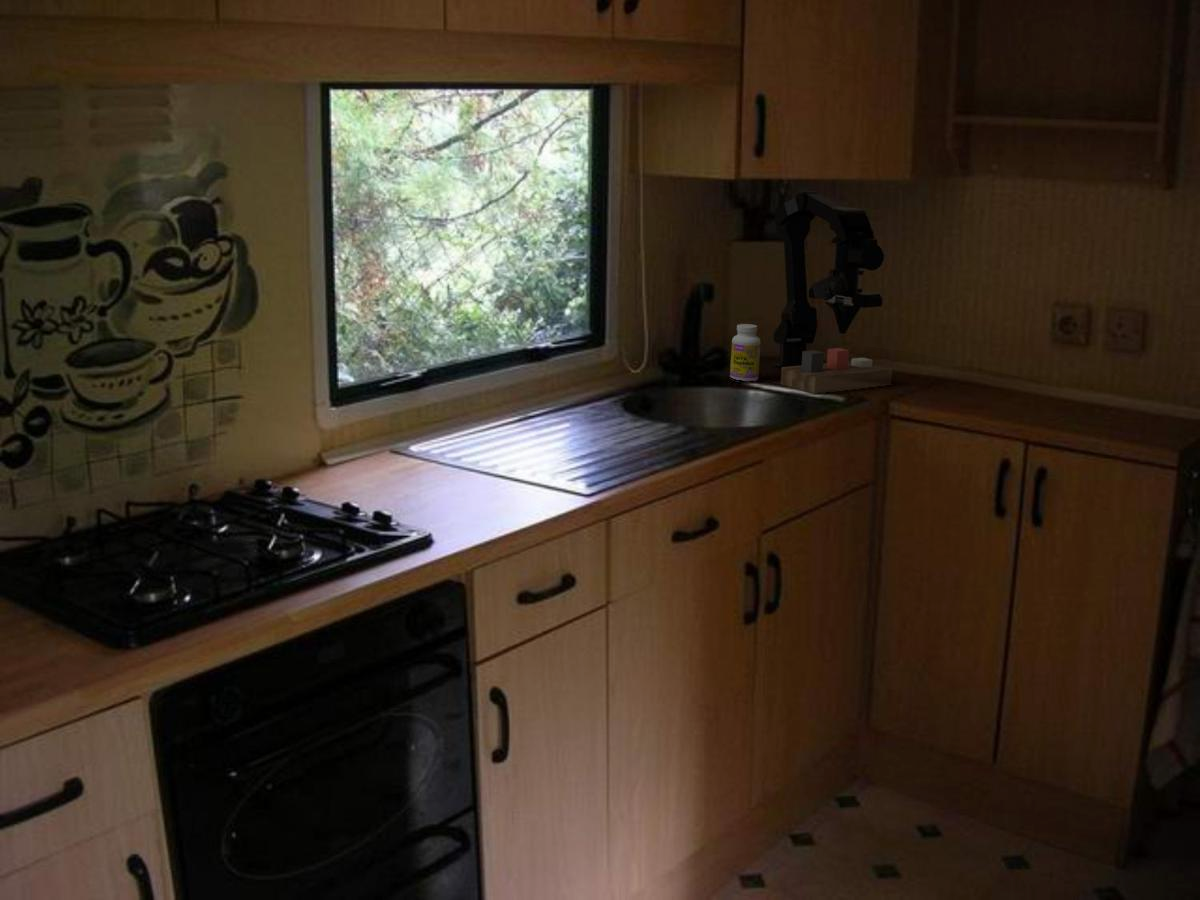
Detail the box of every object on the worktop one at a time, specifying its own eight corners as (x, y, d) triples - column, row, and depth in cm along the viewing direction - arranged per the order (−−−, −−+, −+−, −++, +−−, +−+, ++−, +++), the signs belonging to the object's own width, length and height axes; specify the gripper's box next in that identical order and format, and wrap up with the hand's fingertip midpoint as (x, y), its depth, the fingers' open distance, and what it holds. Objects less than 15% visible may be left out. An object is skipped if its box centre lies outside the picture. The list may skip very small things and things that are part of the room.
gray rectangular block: (801, 372, 312) (802, 351, 311) (812, 371, 314) (814, 350, 313) (810, 375, 309) (812, 353, 308) (822, 374, 311) (823, 352, 310)
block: (780, 384, 315) (781, 367, 314) (856, 376, 327) (857, 359, 326) (814, 394, 306) (815, 376, 305) (891, 385, 317) (892, 368, 316)
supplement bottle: (727, 381, 318) (729, 326, 314) (732, 376, 324) (735, 322, 321) (755, 383, 316) (758, 328, 313) (760, 378, 322) (763, 324, 319)
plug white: (850, 379, 321) (851, 358, 319) (861, 378, 322) (862, 357, 321) (860, 382, 318) (861, 361, 316) (871, 381, 319) (872, 360, 318)
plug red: (826, 370, 316) (827, 348, 315) (837, 369, 318) (839, 347, 316) (836, 372, 313) (837, 351, 312) (847, 371, 315) (848, 350, 314)
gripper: (792, 262, 313) (789, 329, 317) (849, 271, 298) (845, 342, 302) (828, 260, 319) (824, 326, 323) (886, 269, 304) (881, 338, 308)
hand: (842, 333), depth 314 cm, fingers closed
